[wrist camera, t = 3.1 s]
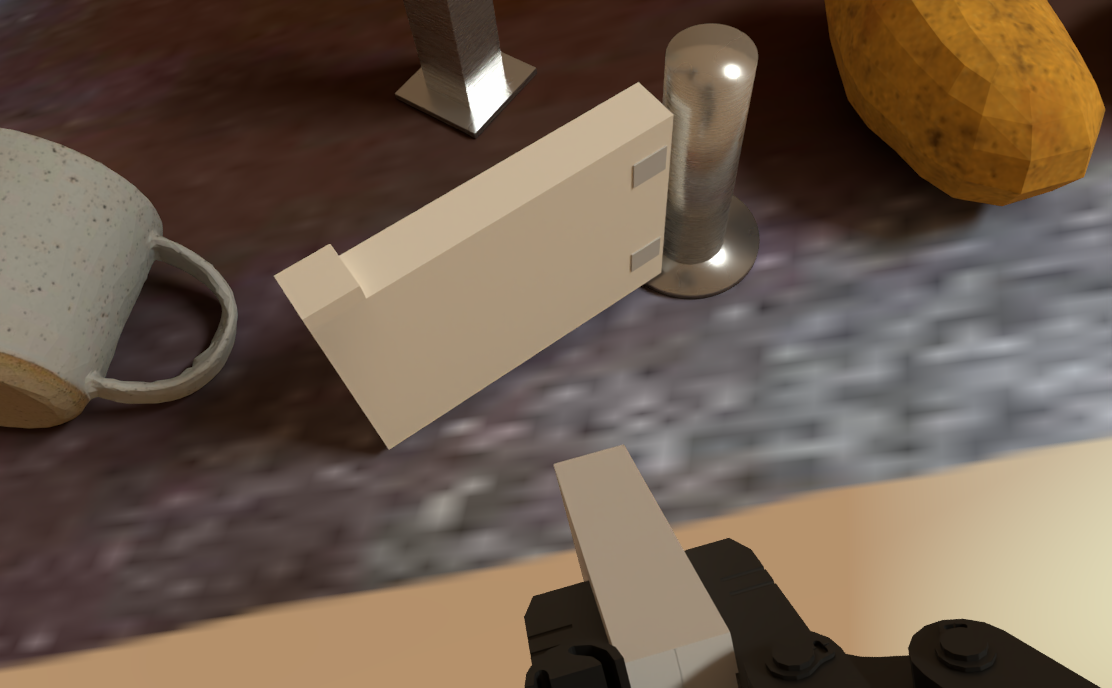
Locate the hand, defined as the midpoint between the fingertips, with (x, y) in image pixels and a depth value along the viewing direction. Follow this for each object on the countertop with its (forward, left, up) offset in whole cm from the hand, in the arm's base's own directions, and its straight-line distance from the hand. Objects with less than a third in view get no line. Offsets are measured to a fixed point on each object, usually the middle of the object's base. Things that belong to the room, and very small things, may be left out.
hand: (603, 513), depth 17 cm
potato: (-15, +18, -10) cm, 25 cm away
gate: (-9, 0, -9) cm, 13 cm away
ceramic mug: (-15, -15, -10) cm, 23 cm away
